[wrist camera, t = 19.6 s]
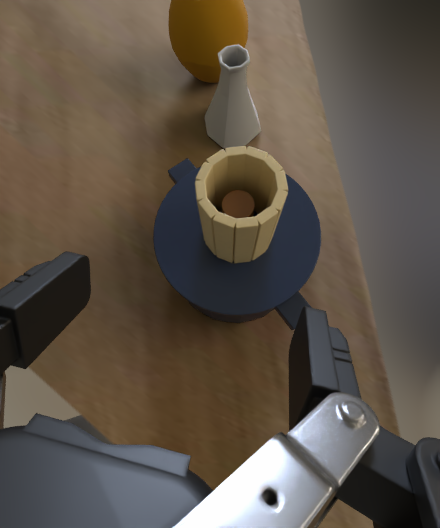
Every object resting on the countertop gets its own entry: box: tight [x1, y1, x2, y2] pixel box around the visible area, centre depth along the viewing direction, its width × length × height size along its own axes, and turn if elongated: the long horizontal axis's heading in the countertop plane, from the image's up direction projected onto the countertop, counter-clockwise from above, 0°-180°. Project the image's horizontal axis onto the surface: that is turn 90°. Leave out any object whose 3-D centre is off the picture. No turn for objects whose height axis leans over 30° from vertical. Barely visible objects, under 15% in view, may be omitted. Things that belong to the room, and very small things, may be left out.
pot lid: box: [153, 167, 321, 316], centre depth 27 cm, size 15×15×6 cm
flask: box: [205, 45, 261, 148], centre depth 38 cm, size 7×7×10 cm
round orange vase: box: [169, 0, 248, 83], centre depth 40 cm, size 10×10×12 cm
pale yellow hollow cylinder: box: [195, 146, 288, 263], centre depth 25 cm, size 6×6×8 cm
